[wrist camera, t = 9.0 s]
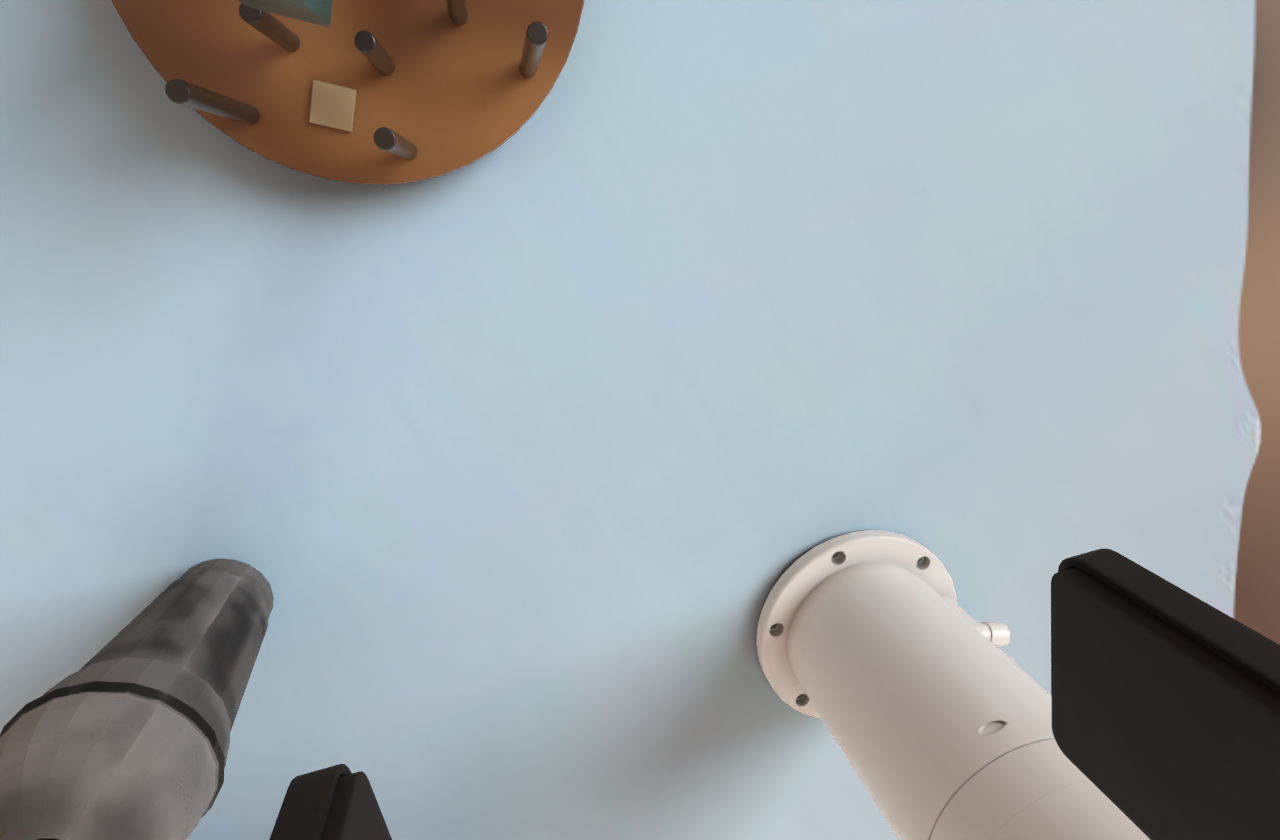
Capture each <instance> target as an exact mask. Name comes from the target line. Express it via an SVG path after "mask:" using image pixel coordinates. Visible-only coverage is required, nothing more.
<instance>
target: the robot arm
mask: <svg viewBox="0 0 1280 840" xmlns="http://www.w3.org/2000/svg"><path fill="white" fill-rule="evenodd" d="M1009 641H1010V632H1009V629H1008V627H1007V626H1006V625H1005V624H1003V623H1000V622H982V623H977V622H976V621H975V620H974V619H973V618H972V617H971V616H969V615H968V614H967V613H966V612H965V611H964V610H963V609H961V608H960V607H959V606H958V605H957V600H956V593H955V589H954V585H953V582H952V579H951V577H950V576H949V574H948V572H947V570H946V568H945V566H944V565H943V564H942V563H941V562H940V561H939V560H938V558H937V557H936V556H935V555H934V554H933V553H931V552H930V551H929V550H928V549H926V548H925V547H924V546H923V545H922V544H920V543H918V542H916V541H915V540H913V539H911V538H909V537H907V536H905V535H901V534H898V533H894V532H891V531H881V530H865V531H857V532H851V533H847V534H844V535H841V536H837V537H834V538H832V539H830V540H828V541H826V542H824V543H822V544H820V545H818V546H815V547H814V548H812V549H811V550H810V551H808V552H807V553H805V554H804V555H803V556H801V557H800V558H798V559H797V560H796V561H795V562H794V563H793V564H792V565H791V566H790V567H789V568H788V569H787V570H786V571H785V572H784V573H783V574H782V576H781V577H780V578H779V580H778V581H777V582H776V584H775V585H774V587H773V588H772V589H771V591H770V593H769V595H768V597H767V599H766V601H765V603H764V606H763V608H762V611H761V615H760V618H759V622H758V626H757V640H756V644H757V651H758V659H759V662H760V664H761V667H762V669H763V672H764V675H765V676H766V678H767V680H768V681H769V683H770V685H771V686H772V688H773V690H774V691H775V692H776V693H777V694H778V695H779V697H780V698H781V699H782V700H783V701H784V702H785V703H787V704H788V705H789V706H791V707H792V708H793V709H795V710H797V711H799V712H802V713H804V714H806V715H809V716H811V717H816V718H821V719H823V721H824V723H825V724H826V726H827V727H828V729H829V731H830V732H831V734H832V735H833V737H834V739H835V740H836V742H837V743H838V745H839V746H840V748H841V750H842V751H843V753H844V754H845V756H846V758H847V759H848V761H849V762H850V764H851V766H852V767H853V769H854V770H855V772H856V774H857V775H858V777H859V778H860V780H861V782H862V783H863V785H864V786H865V788H866V790H867V791H868V793H869V794H870V796H871V797H872V799H873V801H874V802H875V804H876V805H877V807H878V809H879V810H880V812H881V813H882V815H883V817H884V818H885V820H886V821H887V823H888V825H889V826H890V828H891V829H892V831H893V833H894V834H895V836H896V837H897V839H898V840H1280V645H1278V644H1277V643H1275V642H1273V641H1272V640H1270V639H1268V638H1266V637H1264V636H1263V635H1261V634H1259V633H1258V632H1256V631H1254V630H1252V629H1251V628H1248V627H1247V626H1245V625H1243V624H1242V623H1240V622H1238V621H1237V620H1235V619H1233V618H1231V617H1230V616H1228V615H1226V614H1224V613H1222V612H1221V611H1219V610H1217V609H1215V608H1214V607H1212V606H1210V605H1208V604H1207V603H1205V602H1203V601H1201V600H1200V599H1198V598H1196V597H1194V596H1193V595H1191V594H1189V593H1187V592H1186V591H1184V590H1182V589H1180V588H1179V587H1177V586H1175V585H1173V584H1172V583H1170V582H1168V581H1166V580H1165V579H1163V578H1161V577H1159V576H1158V575H1156V574H1154V573H1152V572H1150V571H1149V570H1147V569H1145V568H1143V567H1142V566H1140V565H1138V564H1136V563H1135V562H1133V561H1131V560H1129V559H1128V558H1126V557H1124V556H1122V555H1121V554H1119V553H1117V552H1115V551H1113V550H1110V549H1099V550H1095V551H1091V552H1088V553H1084V554H1081V555H1077V556H1074V557H1070V558H1067V559H1065V560H1063V561H1062V562H1061V564H1060V565H1059V569H1058V573H1056V574H1054V576H1053V577H1052V581H1051V695H1050V694H1049V693H1048V692H1047V691H1045V690H1044V689H1043V688H1042V687H1041V686H1040V685H1039V684H1038V683H1037V682H1035V681H1034V680H1033V679H1032V678H1031V677H1030V676H1029V675H1028V674H1027V673H1025V672H1024V671H1023V670H1022V669H1021V668H1020V667H1019V666H1018V665H1017V664H1016V663H1015V661H1014V660H1013V659H1012V657H1010V656H1008V655H1005V654H1004V653H1003V652H1002V651H1001V650H1000V649H999V648H998V647H996V646H1006V645H1008V643H1009ZM270 840H392V839H391V836H390V834H389V831H388V829H387V826H386V823H385V821H384V818H383V816H382V813H381V811H380V808H379V806H378V803H377V800H376V798H375V795H374V793H373V790H372V788H371V785H370V783H369V780H368V778H367V776H366V774H365V773H364V772H357V773H353V774H352V773H351V771H350V769H349V768H348V767H347V766H346V765H345V764H339V765H336V766H332V767H328V768H325V769H321V770H318V771H314V772H311V773H307V774H304V775H300V776H297V777H295V778H294V779H293V780H292V781H291V783H290V785H289V787H288V790H287V793H286V795H285V798H284V801H283V804H282V807H281V809H280V812H279V815H278V818H277V820H276V823H275V826H274V829H273V832H272V834H271V837H270Z"/></svg>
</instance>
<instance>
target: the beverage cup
mask: <svg viewBox="0 0 1280 840" xmlns="http://www.w3.org/2000/svg"><path fill="white" fill-rule="evenodd" d="M272 607H273V594H272V591H271V588H270V584H269V583H268V582H267V580H266V579H265V578H264V576H263V575H262V574H261V573H260V572H258V571H257V570H255V569H254V568H253V567H251V566H250V565H247V564H245V563H242V562H239V561H236V560H227V559H216V560H210V561H205V562H202V563H200V564H198V565H196V566H194V567H192V568H191V569H190V570H189V571H188V572H187V573H186V574H185V575H183V576H182V577H181V578H180V579H178V580H176V581H174V582H173V583H172V584H171V585H170V586H169V587H168V588H167V589H166V590H165V591H164V592H163V593H162V594H161V595H159V596H158V597H157V598H156V599H155V600H154V601H153V602H152V603H151V604H150V605H149V606H148V607H147V608H146V609H144V610H143V611H142V612H141V613H140V614H139V615H138V616H137V617H136V618H135V619H134V620H133V621H132V622H131V623H130V624H128V625H127V626H126V627H125V628H124V629H123V630H122V631H121V632H120V633H119V634H118V635H117V636H116V637H115V638H113V639H112V640H111V641H110V642H109V643H108V644H107V645H106V646H105V647H104V648H103V649H102V650H101V651H100V652H98V653H97V654H96V655H95V656H94V657H93V658H92V659H91V660H90V661H89V662H88V663H87V664H86V665H85V666H84V667H82V668H81V669H80V670H79V671H78V672H76V673H74V674H72V675H70V676H68V677H67V678H65V679H64V680H62V681H61V682H60V683H58V684H57V685H55V686H54V687H53V688H51V689H50V690H48V691H47V692H46V693H45V694H44V695H43V696H42V697H40V698H38V699H36V700H34V701H32V702H30V703H28V704H26V705H25V706H24V707H23V708H22V709H21V710H20V711H19V712H18V713H17V714H16V715H15V716H14V717H13V718H12V719H11V720H10V721H9V722H8V723H7V724H6V725H5V726H4V728H3V730H2V732H1V734H0V840H185V839H186V838H187V837H188V836H189V834H190V833H191V832H192V831H193V829H194V828H195V827H196V826H197V824H198V822H199V820H200V819H201V817H202V816H204V815H205V814H206V812H207V811H208V810H209V809H210V808H211V807H212V805H213V803H214V801H215V799H216V797H217V795H218V793H219V791H220V789H221V787H222V785H223V783H224V768H225V765H226V759H227V754H228V749H229V742H230V731H231V728H232V726H233V723H234V720H235V717H236V714H237V711H238V709H239V706H240V703H241V700H242V697H243V695H244V692H245V689H246V686H247V683H248V680H249V678H250V675H251V672H252V669H253V666H254V663H255V661H256V658H257V655H258V652H259V649H260V646H261V644H262V641H263V638H264V635H265V632H266V630H267V627H268V619H269V615H270V612H271V610H272Z"/></svg>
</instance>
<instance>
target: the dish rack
mask: <svg viewBox="0 0 1280 840" xmlns="http://www.w3.org/2000/svg"><path fill="white" fill-rule="evenodd" d="M112 2H113V4H114V6H115V8H116V10H117V11H118V13H119V15H120V17H121V18H122V20H123V22H124V24H125V25H126V27H127V29H128V31H129V32H130V34H131V36H132V38H133V39H134V41H135V42H136V43H137V45H138V46H139V47H140V49H141V50H142V52H143V53H144V54H145V56H146V57H147V58H148V60H149V61H150V63H151V64H152V65H153V67H154V68H155V69H156V71H157V72H158V73H159V74H160V75H161V76H162V77H163V78H164V79H165V81H166V82H167V84H166V87H165V91H166V94H167V96H168V97H169V99H170V100H172V101H173V102H175V103H178V104H181V105H185V106H188V107H192V108H193V109H194V110H196V111H197V112H198V113H199V114H200V115H201V116H202V117H203V118H205V119H206V120H207V121H208V122H209V123H211V124H212V125H214V126H215V127H216V128H218V129H219V130H221V131H222V132H224V133H225V134H226V135H228V136H229V137H231V138H232V139H233V140H235V141H236V142H238V143H240V144H242V145H243V146H245V147H247V148H249V149H251V150H252V151H254V152H256V153H258V154H260V155H261V156H263V157H265V158H267V159H269V160H272V161H274V162H277V163H279V164H282V165H284V166H286V167H289V168H291V169H294V170H296V171H299V172H303V173H307V174H310V175H314V176H317V177H321V178H325V179H329V180H336V181H342V182H349V183H356V184H382V185H392V184H401V183H410V182H418V181H422V180H426V179H430V178H434V177H438V176H442V175H446V174H448V173H451V172H453V171H455V170H458V169H460V168H463V167H465V166H468V165H470V164H472V163H474V162H475V161H477V160H479V159H480V158H482V157H484V156H486V155H487V154H489V153H491V152H492V151H494V150H495V149H497V148H498V147H499V146H500V145H502V144H503V143H504V142H505V141H507V140H508V139H509V138H510V137H512V136H513V135H514V134H515V133H516V132H517V131H518V130H519V129H520V128H521V127H522V126H523V125H524V124H525V123H526V122H527V121H528V120H529V119H530V118H531V116H532V115H533V114H534V113H535V112H536V111H537V109H538V108H539V106H540V105H541V104H542V102H543V101H544V99H545V98H546V96H547V95H548V94H549V92H550V91H551V89H552V87H553V85H554V84H555V82H556V80H557V78H558V76H559V74H560V72H561V70H562V68H563V67H564V65H565V63H566V61H567V58H568V55H569V53H570V50H571V47H572V44H573V42H574V39H575V36H576V34H577V30H578V26H579V22H580V17H581V13H582V9H583V5H584V0H112Z"/></svg>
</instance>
